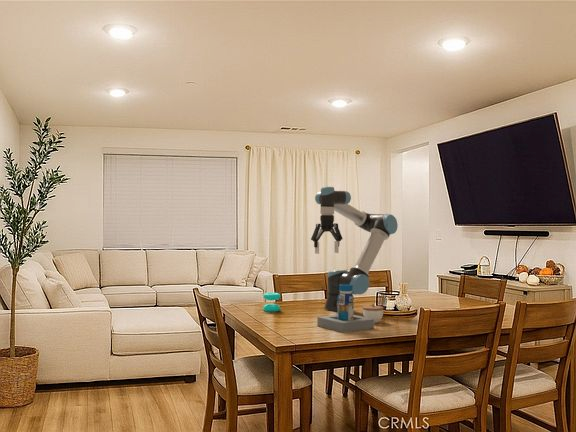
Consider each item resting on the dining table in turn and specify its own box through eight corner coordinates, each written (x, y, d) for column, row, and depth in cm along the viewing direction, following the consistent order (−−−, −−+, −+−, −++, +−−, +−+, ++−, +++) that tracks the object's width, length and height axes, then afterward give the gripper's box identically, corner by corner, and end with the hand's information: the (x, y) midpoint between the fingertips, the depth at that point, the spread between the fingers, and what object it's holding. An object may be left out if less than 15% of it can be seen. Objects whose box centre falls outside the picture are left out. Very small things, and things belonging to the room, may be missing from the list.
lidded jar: (384, 320, 321) (385, 303, 321) (381, 324, 310) (381, 305, 310) (365, 319, 324) (365, 302, 324) (360, 322, 314) (360, 304, 314)
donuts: (283, 293, 350) (269, 295, 344) (283, 311, 350) (269, 312, 344) (273, 291, 358) (259, 293, 352) (273, 308, 358) (259, 310, 352)
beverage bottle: (334, 323, 306) (335, 283, 306) (350, 322, 308) (350, 283, 308) (340, 326, 298) (340, 285, 298) (356, 325, 300) (356, 285, 300)
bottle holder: (348, 322, 316) (348, 313, 316) (374, 328, 299) (374, 319, 299) (317, 325, 304) (317, 316, 304) (342, 332, 288) (342, 323, 288)
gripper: (340, 214, 344) (340, 252, 344) (304, 214, 330) (304, 253, 330) (348, 214, 338) (348, 252, 338) (313, 214, 324) (312, 254, 324)
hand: (326, 253), depth 334 cm, fingers open, 13 cm apart
